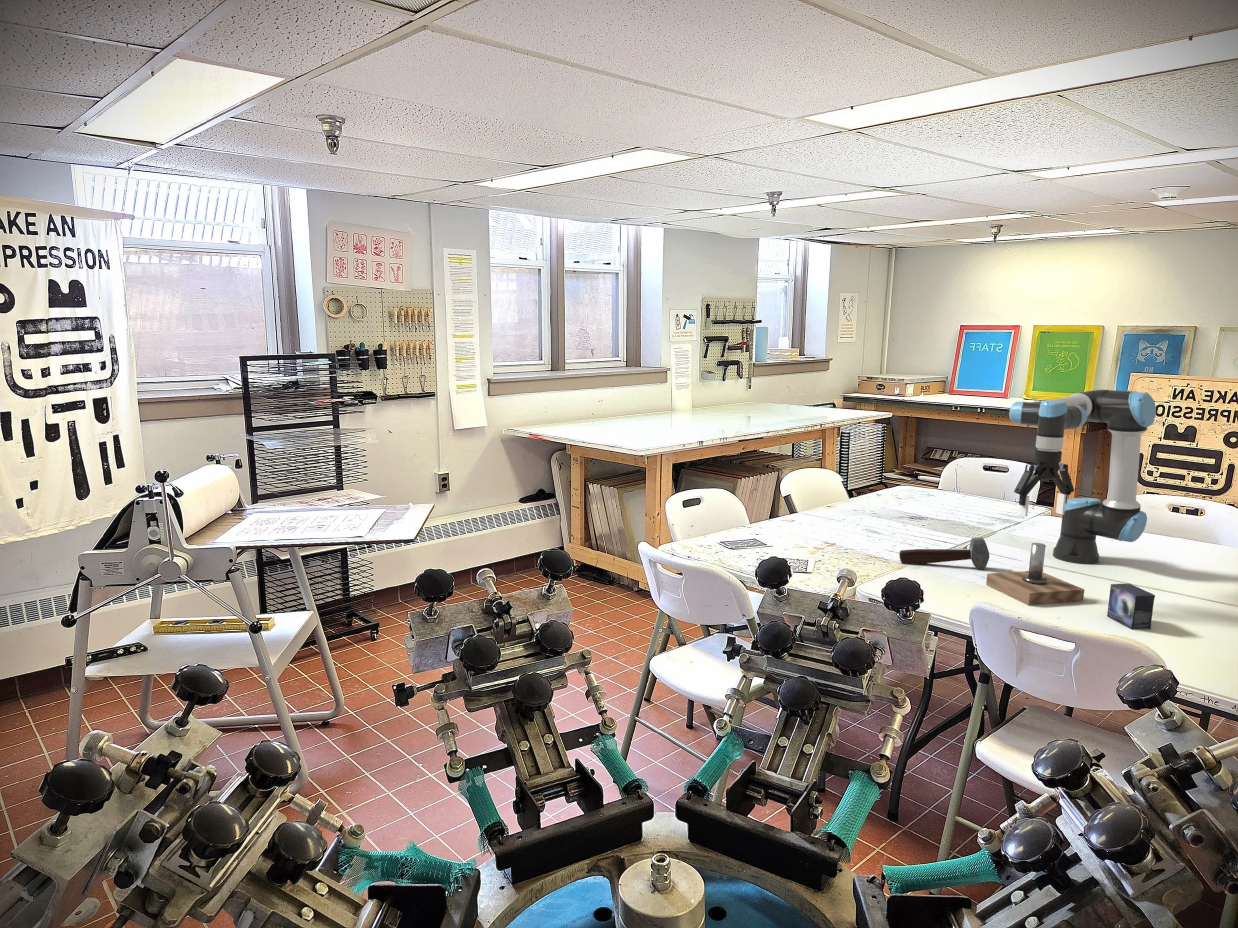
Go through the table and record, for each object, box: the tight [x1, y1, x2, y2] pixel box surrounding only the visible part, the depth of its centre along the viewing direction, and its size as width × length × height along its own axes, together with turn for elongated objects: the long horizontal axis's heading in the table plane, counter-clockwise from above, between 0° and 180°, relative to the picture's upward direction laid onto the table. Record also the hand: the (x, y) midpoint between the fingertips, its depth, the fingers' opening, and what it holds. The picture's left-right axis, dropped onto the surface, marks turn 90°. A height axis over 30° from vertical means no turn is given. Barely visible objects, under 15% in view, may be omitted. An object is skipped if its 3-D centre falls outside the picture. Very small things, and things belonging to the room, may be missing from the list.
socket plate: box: [985, 570, 1085, 606], centre depth 253 cm, size 20×20×4 cm
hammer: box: [898, 537, 990, 571], centre depth 282 cm, size 5×11×30 cm
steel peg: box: [1023, 542, 1047, 585], centre depth 252 cm, size 7×7×16 cm
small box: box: [1106, 582, 1156, 630], centre depth 228 cm, size 11×6×10 cm, turn 5°
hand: (1041, 514), depth 249 cm, fingers open, 13 cm apart
